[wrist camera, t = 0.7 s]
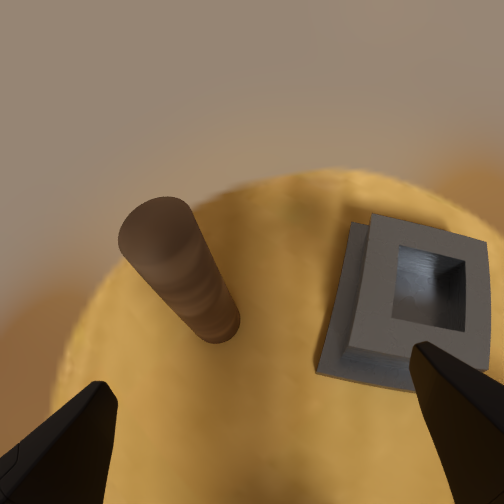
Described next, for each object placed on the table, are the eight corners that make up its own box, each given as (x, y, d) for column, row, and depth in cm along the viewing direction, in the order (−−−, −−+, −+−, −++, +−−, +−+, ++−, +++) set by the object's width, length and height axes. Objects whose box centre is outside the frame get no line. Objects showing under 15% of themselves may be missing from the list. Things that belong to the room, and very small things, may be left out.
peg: (230, 349, 24) (169, 273, 13) (186, 335, 25) (104, 253, 14) (246, 305, 25) (206, 202, 15) (204, 293, 27) (142, 192, 16)
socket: (471, 400, 18) (500, 391, 14) (315, 373, 22) (320, 362, 18) (477, 258, 24) (496, 232, 20) (350, 228, 28) (356, 196, 24)
